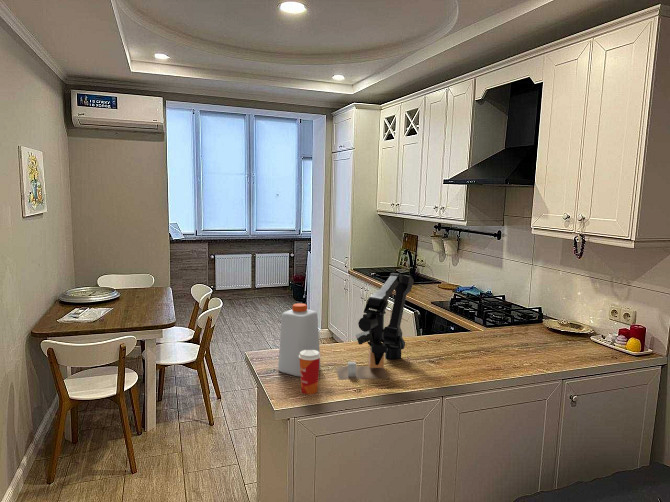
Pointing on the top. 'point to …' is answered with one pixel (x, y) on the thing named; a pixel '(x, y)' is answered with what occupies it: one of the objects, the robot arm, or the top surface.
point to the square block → (372, 361)
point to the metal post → (351, 370)
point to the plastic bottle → (297, 337)
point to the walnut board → (362, 373)
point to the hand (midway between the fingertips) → (375, 362)
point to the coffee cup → (309, 371)
